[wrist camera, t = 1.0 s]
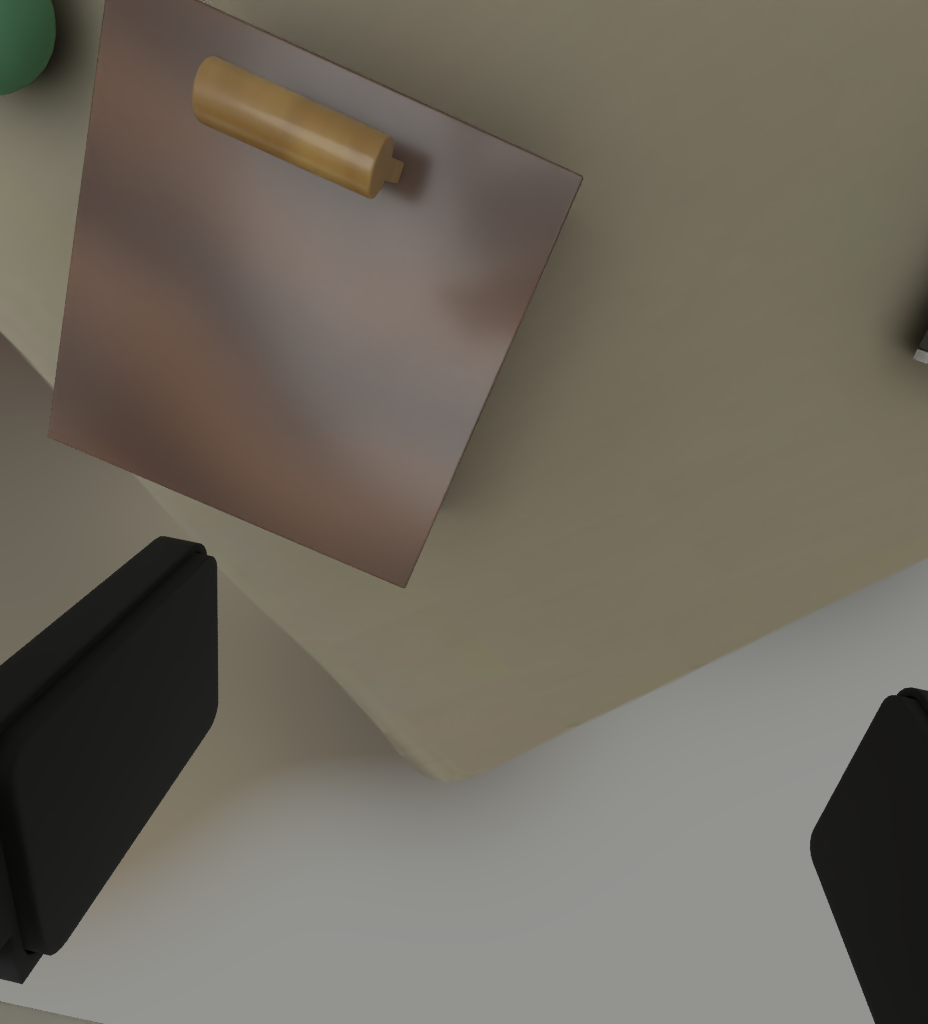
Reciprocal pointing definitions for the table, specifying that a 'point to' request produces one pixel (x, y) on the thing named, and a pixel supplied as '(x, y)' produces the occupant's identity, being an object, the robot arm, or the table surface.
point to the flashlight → (922, 350)
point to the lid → (290, 282)
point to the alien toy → (24, 41)
